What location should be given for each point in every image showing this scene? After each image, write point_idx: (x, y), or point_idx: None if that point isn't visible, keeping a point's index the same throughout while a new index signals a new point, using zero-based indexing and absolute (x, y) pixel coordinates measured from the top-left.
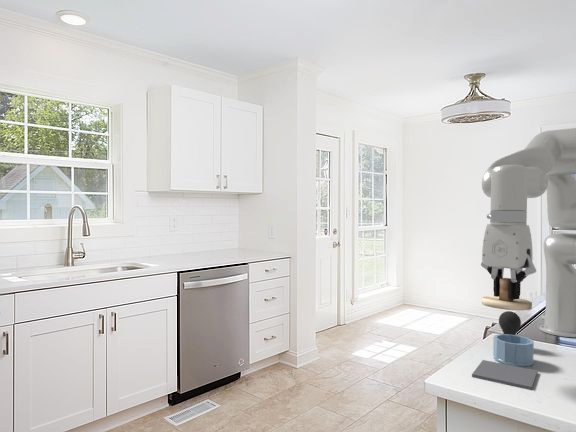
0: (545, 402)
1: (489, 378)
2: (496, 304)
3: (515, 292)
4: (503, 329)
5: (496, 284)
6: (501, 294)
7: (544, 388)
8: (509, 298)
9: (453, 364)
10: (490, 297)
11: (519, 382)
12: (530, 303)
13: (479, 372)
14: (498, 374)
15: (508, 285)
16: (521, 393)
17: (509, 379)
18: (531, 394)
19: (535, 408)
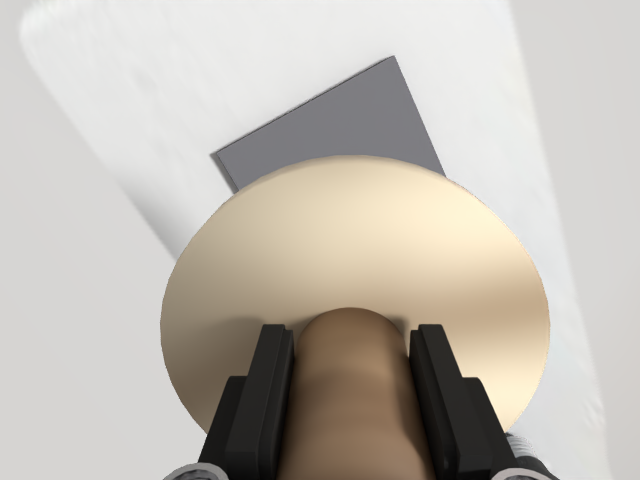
0: (132, 95)
1: (335, 87)
2: (301, 166)
3: (228, 392)
4: (548, 475)
5: (441, 409)
6: (360, 339)
7: (213, 201)
8: (275, 324)
9: (520, 102)
10: (494, 340)
11: (259, 151)
12: (190, 405)
13: (390, 101)
14: (342, 151)
15: (275, 419)
16: (210, 89)
17: (293, 144)
18: (192, 114)
19: (105, 14)
